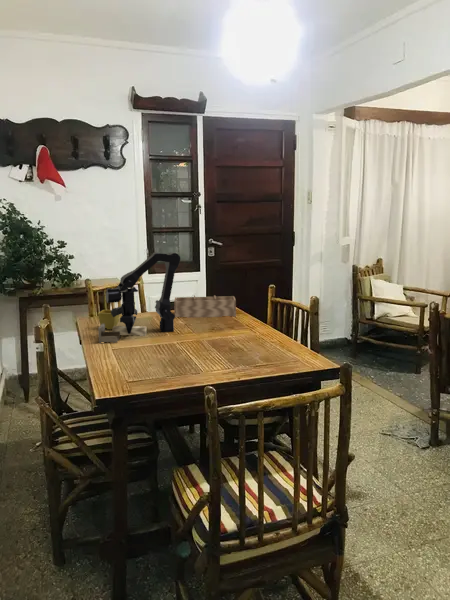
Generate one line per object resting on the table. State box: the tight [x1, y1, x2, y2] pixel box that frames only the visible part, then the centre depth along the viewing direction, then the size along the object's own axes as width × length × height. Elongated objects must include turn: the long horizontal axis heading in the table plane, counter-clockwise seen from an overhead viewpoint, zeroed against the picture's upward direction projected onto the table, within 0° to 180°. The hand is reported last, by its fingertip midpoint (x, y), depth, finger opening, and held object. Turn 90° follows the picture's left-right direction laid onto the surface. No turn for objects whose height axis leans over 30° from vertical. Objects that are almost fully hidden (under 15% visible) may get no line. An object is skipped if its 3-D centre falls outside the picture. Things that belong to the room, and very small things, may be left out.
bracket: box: [97, 324, 121, 344], centre depth 229 cm, size 8×10×7 cm
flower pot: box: [97, 309, 120, 330], centre depth 252 cm, size 9×9×9 cm
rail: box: [112, 325, 148, 337], centre depth 240 cm, size 16×4×4 cm, turn 85°
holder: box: [173, 294, 237, 318], centre depth 284 cm, size 35×13×10 cm, turn 94°
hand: (129, 332), depth 240 cm, fingers open, 4 cm apart
